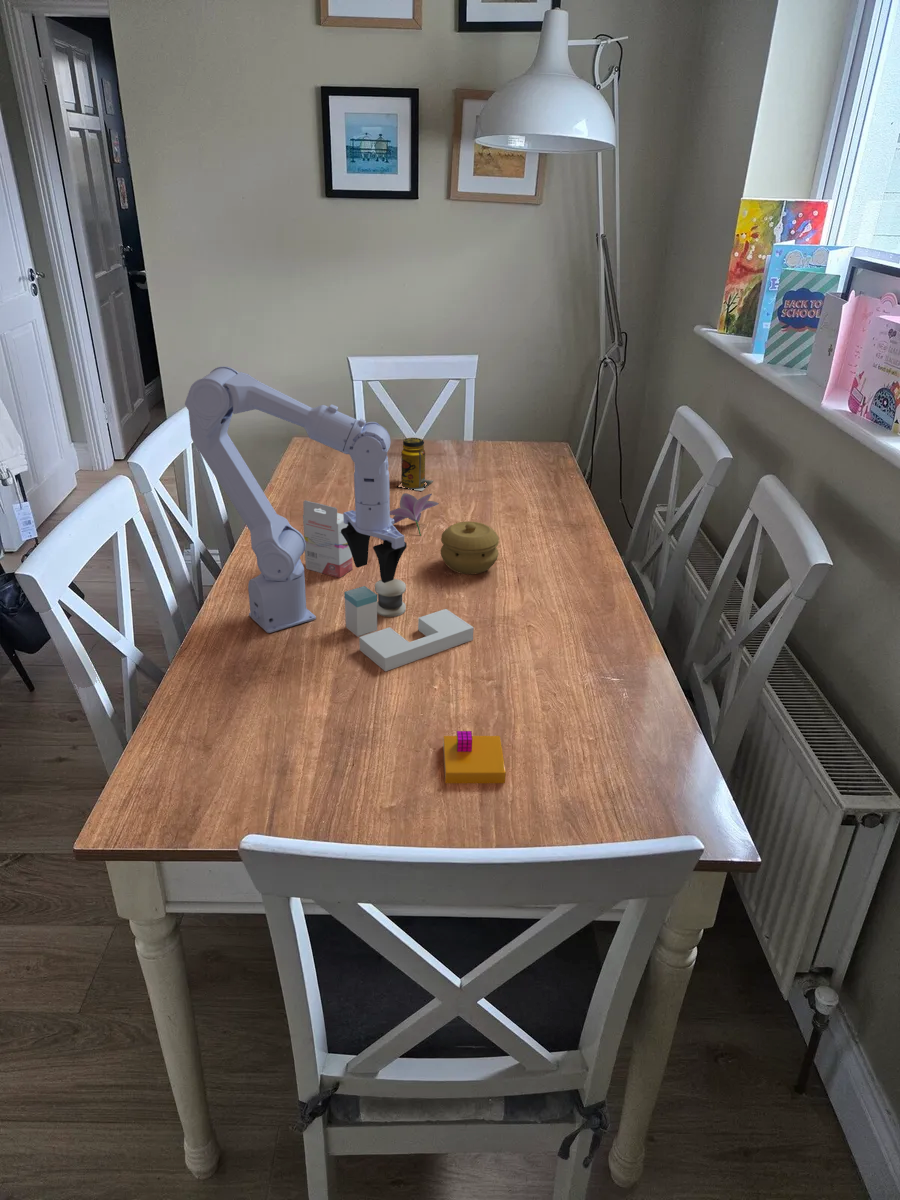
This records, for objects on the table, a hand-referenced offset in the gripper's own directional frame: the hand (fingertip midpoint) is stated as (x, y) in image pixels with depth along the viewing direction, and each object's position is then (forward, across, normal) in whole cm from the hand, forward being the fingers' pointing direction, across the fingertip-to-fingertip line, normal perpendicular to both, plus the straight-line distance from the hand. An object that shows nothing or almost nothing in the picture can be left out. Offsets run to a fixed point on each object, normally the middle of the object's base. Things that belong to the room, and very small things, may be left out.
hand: (374, 573), depth 140 cm
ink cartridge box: (+10, +23, -6) cm, 26 cm away
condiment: (+10, +51, -51) cm, 73 cm away
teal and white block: (+10, 0, +3) cm, 10 cm away
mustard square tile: (+11, -40, +13) cm, 43 cm away
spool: (+10, +2, -5) cm, 11 cm away
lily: (+10, +29, -32) cm, 44 cm away
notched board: (+10, -11, -1) cm, 15 cm away
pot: (+10, +6, -28) cm, 31 cm away
